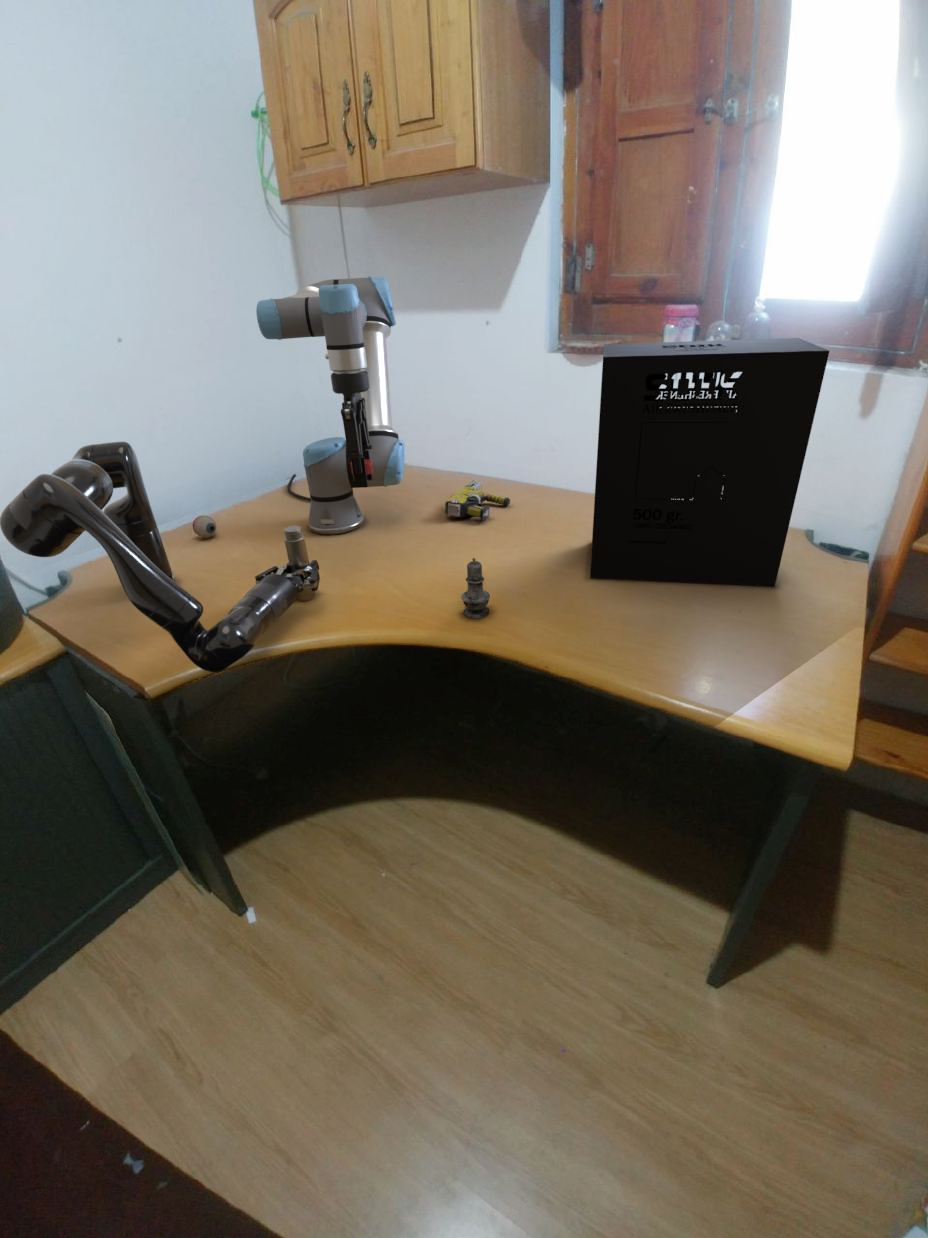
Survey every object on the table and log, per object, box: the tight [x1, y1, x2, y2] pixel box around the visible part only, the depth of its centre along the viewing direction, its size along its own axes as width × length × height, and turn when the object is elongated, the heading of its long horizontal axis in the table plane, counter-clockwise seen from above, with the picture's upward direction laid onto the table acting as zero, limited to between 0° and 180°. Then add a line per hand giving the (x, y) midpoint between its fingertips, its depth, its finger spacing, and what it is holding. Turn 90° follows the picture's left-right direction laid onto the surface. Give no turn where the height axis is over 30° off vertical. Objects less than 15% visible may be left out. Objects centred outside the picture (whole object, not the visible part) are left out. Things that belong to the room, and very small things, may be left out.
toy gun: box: [444, 480, 511, 521], centre depth 175 cm, size 5×24×15 cm
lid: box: [351, 459, 374, 475], centre depth 132 cm, size 5×5×2 cm
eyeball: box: [192, 514, 217, 538], centre depth 165 cm, size 6×6×6 cm
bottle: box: [283, 525, 317, 602], centre depth 128 cm, size 4×4×16 cm
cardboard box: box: [589, 337, 830, 587], centre depth 126 cm, size 38×20×45 cm, turn 78°
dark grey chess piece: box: [460, 557, 491, 619], centre depth 119 cm, size 6×6×12 cm
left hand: (305, 563), depth 131 cm, fingers closed on bottle, 4 cm apart
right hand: (364, 483), depth 134 cm, fingers closed on lid, 5 cm apart
